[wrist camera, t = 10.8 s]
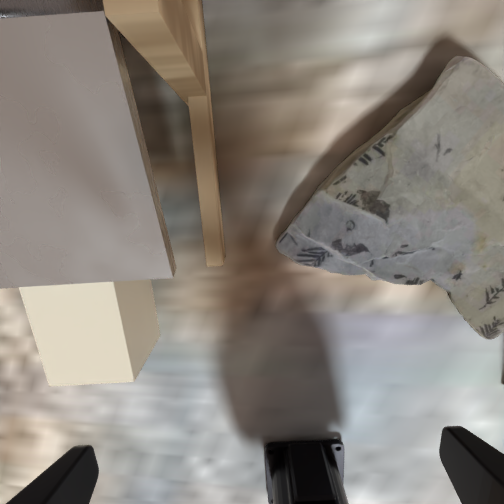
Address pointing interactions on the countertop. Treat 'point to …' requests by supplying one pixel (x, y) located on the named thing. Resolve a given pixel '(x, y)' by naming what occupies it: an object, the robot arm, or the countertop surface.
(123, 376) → the limestone block
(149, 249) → the trapdoor
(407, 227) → the fossil rock
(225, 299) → the countertop surface
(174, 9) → the stand
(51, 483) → the robot arm
